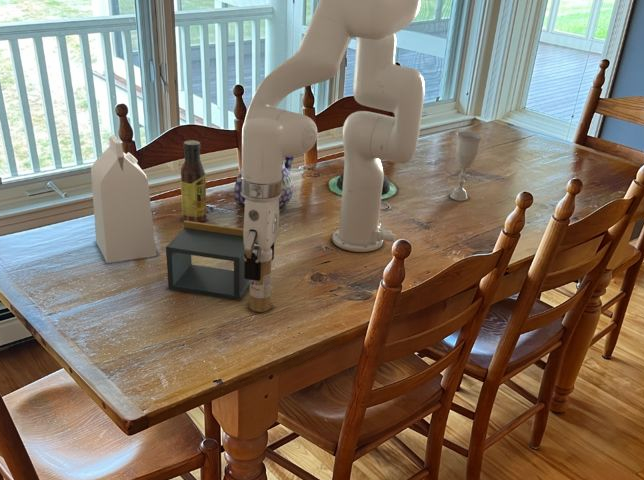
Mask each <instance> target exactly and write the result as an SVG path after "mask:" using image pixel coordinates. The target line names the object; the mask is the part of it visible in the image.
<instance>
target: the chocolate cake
mask: <svg viewBox="0 0 644 480" xmlns="http://www.w3.org/2000/svg"><path fill="white" fill-rule="evenodd" d="M382 161H383V160H381V159H380V162H381V163H382ZM383 173H384V180H383V187H382V196H381V200H384V199H389V198H391V197H393V196H394V195H396V193H397V186H395V184H394V183H392V182H391V181H389V179H388V178H387V175H386V174H385V172H384V171H383ZM343 177H344V172H343V173H342V174H341V175H338V176H335V177H333V178H331V179H330V180H329V181H328V188H329V189H330V191H331V192H333V193H335V194H337V195H339V196H342V190H343Z"/></svg>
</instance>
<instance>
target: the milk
mask: <svg viewBox="0 0 644 480" xmlns="http://www.w3.org/2000/svg"><path fill="white" fill-rule="evenodd" d="M108 141H109V143H108V144H109V145H108V147H107V148H106V150H104V151H103V152H102V153H101V155H100V156H99V157H98V158H97V159H96V160H95V161H94V162H93V164H92V165H91V168H90V177H91V190H92V191H91V192H92V193H91V194H92V204H93V205H92V206H93V216H94V217H93V218H94V219H93V220H94V230H95V242H96V244H97V247H98V248H99V250H100V252H101V254H102V257H103V259H104V260H105V262H106V264H111V263H117V262H125V261H130V260H139V259H144V258H150V257H157V246H156V239H155V229H154V220H153V213H152V203H151V195H150V187H149V180H148V177H147V174H146V173H145V172H144V171H143V169H142V168H141V167H140V165H139V164H138V163H139V161H138V159H137V158H136V157H135V156H134V155H133V154H132V153H131V152H127V153H125V152H124V149H123V144H122V142H121V140H120V139H119V138H118V137H117V135H116V134H114V135H113V134H112V135H108Z"/></svg>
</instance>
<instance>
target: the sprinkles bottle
mask: <svg viewBox="0 0 644 480" xmlns="http://www.w3.org/2000/svg"><path fill="white" fill-rule="evenodd" d="M254 246H259V245H258V244H254ZM253 253H255V255H257V251H256V250H253ZM271 260H272V249H271V248H270V249H269V250H267V251H264V250H262V251H261V256H260V260H259V261H261V279H260V281H255V280H250V285H249V304H248V307H249V309H250V310H251V311H253V312H257V313H264V312H267V311H269V310H270V309H271V294H272V261H273V260H272V261H271Z"/></svg>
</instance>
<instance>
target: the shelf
mask: <svg viewBox="0 0 644 480" xmlns="http://www.w3.org/2000/svg"><path fill="white" fill-rule="evenodd" d="M243 230H244V228H240V227H234V226H228V225H220V224H212V223H205V222H192V221H185V220H183V228H182V229H181V230H180V231H179V232H178V233H177V234H176V235H175V236H174V237H173V238H172V240H171V241H170V242H169V243H168V244H167V245H166V246H165V255H166V271H167V285H168V290H171V291H177V292H184V293H190V294H195V295H196V294H197V295H203V296H209V297H216V298H221V299H222V298H223V299H228V300H235V301H240V300H241V299H242V297H243V295H245V292H246V291H247V290H248V288H249V287H250V280H249V279H245V278H244V263H245V261H244V258H245V255H244V254H245V250H244V248H245V246H244V240H243ZM192 256H195V257H203V258H209V259H214V260H215V259H216V260H223V261H228V262H233V270H232V269H225V268H218V267H211V266H205V265H197V264H193V263H192Z"/></svg>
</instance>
